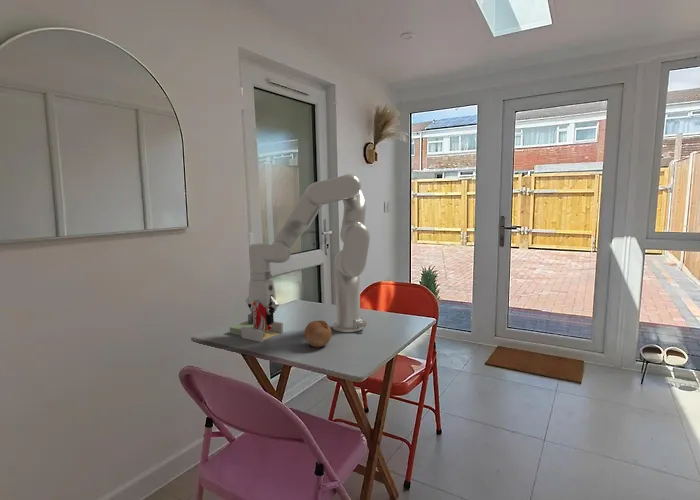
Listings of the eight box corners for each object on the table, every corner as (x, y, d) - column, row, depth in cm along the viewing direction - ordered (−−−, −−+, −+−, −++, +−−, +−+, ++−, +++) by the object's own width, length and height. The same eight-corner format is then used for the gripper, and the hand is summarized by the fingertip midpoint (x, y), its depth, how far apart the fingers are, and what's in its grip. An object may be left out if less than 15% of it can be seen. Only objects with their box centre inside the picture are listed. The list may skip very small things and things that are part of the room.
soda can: (267, 333, 145) (266, 302, 143) (250, 332, 146) (248, 301, 145) (275, 327, 152) (273, 297, 150) (258, 327, 153) (256, 297, 152)
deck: (292, 328, 156) (291, 315, 156) (261, 342, 141) (260, 327, 141) (259, 322, 166) (259, 309, 165) (227, 334, 151) (226, 320, 150)
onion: (329, 352, 138) (341, 328, 137) (311, 353, 131) (324, 328, 130) (312, 337, 144) (324, 314, 143) (294, 338, 137) (306, 313, 135)
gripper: (284, 276, 145) (286, 323, 147) (251, 273, 154) (253, 316, 156) (270, 280, 139) (273, 328, 141) (236, 276, 148) (239, 321, 150)
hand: (262, 322), depth 149 cm, fingers closed on soda can, 6 cm apart
